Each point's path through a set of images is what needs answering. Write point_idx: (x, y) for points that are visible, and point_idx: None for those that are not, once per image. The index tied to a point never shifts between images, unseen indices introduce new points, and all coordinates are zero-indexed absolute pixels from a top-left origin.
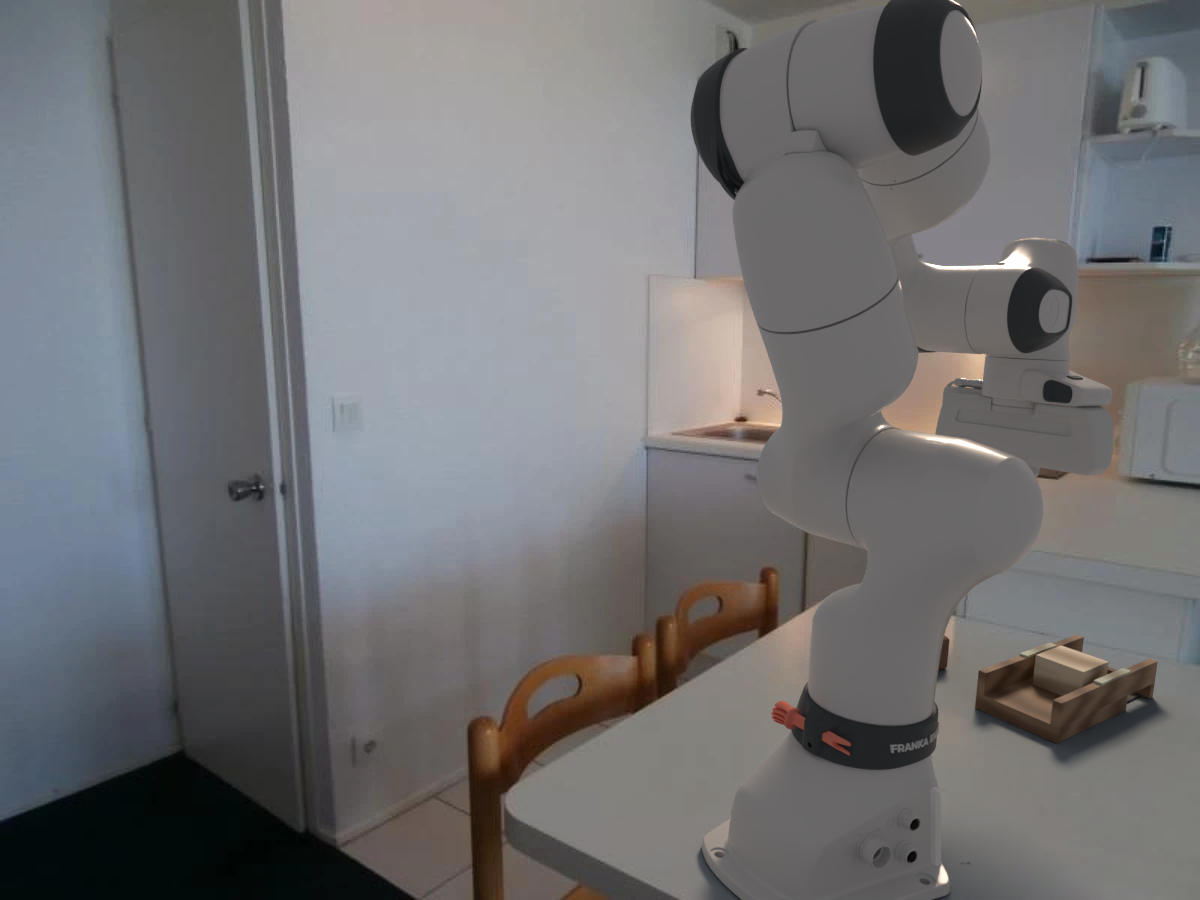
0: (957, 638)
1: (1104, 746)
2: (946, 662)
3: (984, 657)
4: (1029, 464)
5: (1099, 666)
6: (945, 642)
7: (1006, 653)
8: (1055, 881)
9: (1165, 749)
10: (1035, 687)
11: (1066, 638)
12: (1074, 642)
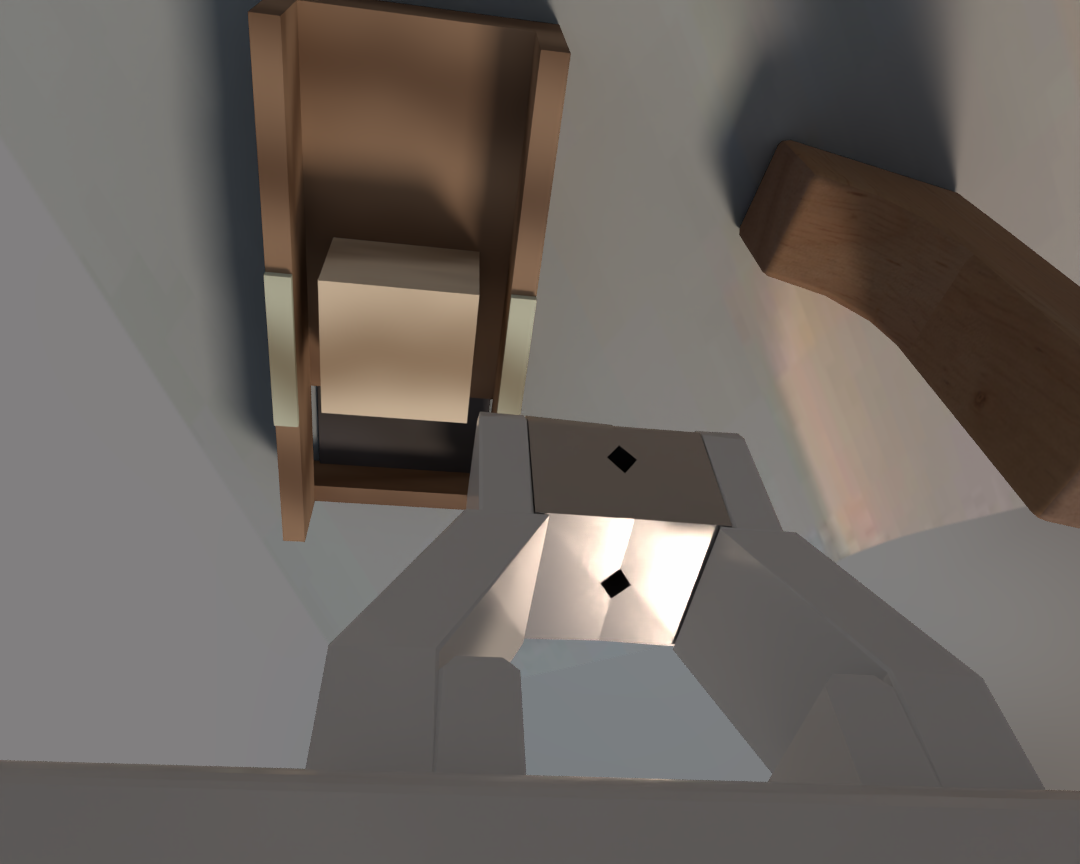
0: (788, 442)
1: (200, 98)
2: (743, 232)
3: (685, 386)
4: (228, 772)
5: (321, 366)
6: (768, 250)
7: None
8: None
9: (114, 220)
10: (462, 234)
11: None
12: None
